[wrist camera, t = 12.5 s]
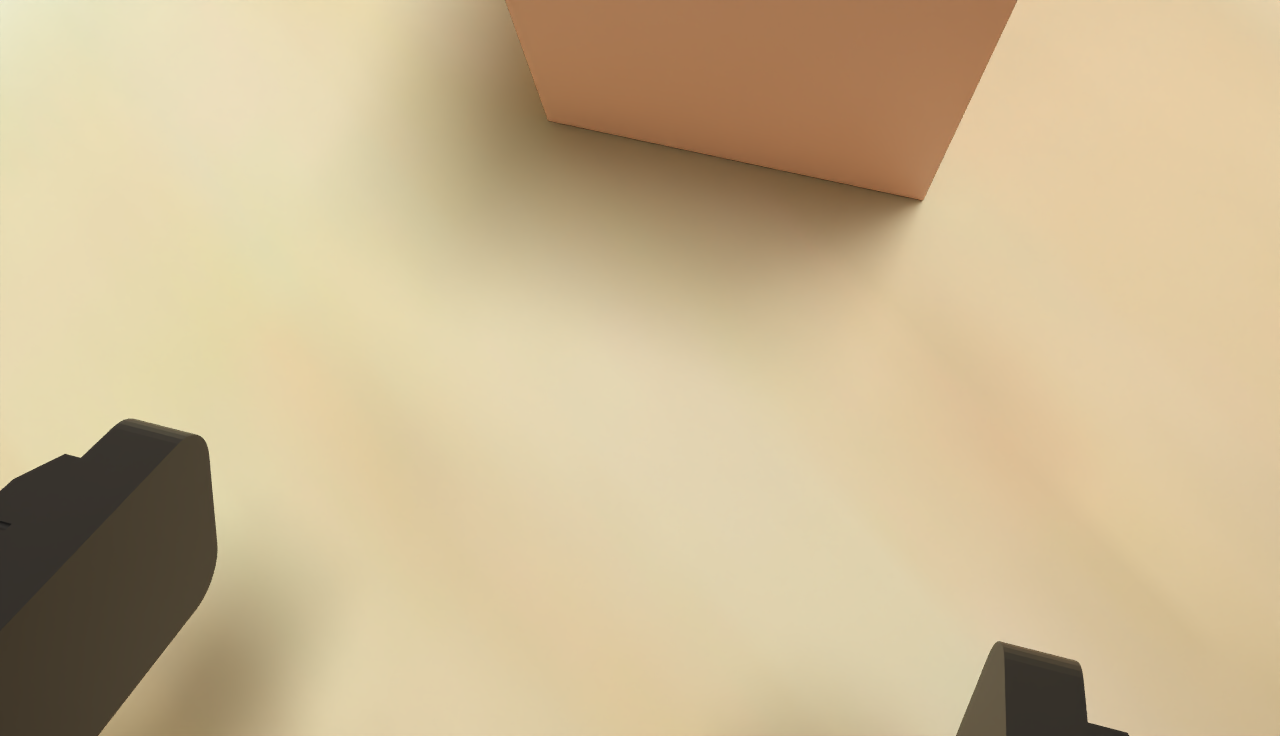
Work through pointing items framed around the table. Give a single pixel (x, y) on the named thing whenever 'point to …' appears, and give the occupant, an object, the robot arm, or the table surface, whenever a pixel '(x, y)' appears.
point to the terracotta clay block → (769, 78)
